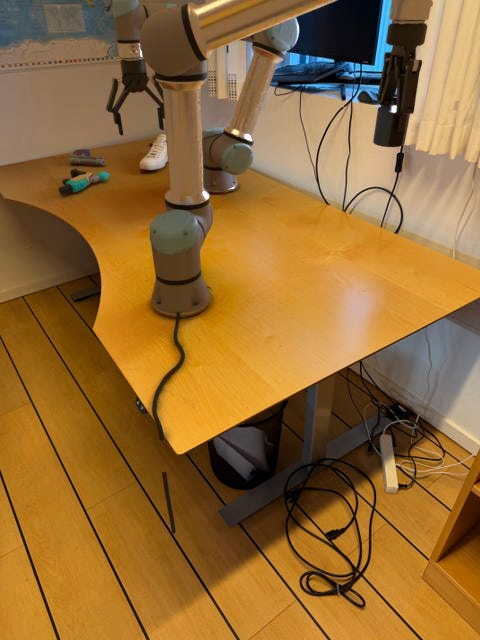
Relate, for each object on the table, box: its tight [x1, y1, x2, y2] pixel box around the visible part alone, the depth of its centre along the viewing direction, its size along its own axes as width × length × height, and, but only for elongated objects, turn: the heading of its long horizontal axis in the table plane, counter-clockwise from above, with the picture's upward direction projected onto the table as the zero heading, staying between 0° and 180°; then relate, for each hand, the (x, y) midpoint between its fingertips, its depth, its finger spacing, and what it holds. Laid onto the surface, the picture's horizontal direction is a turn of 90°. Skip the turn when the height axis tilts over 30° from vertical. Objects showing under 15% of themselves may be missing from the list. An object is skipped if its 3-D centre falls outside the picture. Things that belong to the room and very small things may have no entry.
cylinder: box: [372, 105, 411, 148], centre depth 106 cm, size 7×7×7 cm
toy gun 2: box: [58, 168, 111, 196], centre depth 194 cm, size 4×26×15 cm
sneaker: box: [139, 133, 168, 171], centre depth 214 cm, size 10×29×12 cm, turn 163°
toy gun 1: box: [67, 148, 106, 167], centre depth 221 cm, size 4×19×15 cm
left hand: (388, 140), depth 108 cm, fingers closed on cylinder, 7 cm apart
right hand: (141, 131), depth 156 cm, fingers open, 13 cm apart
